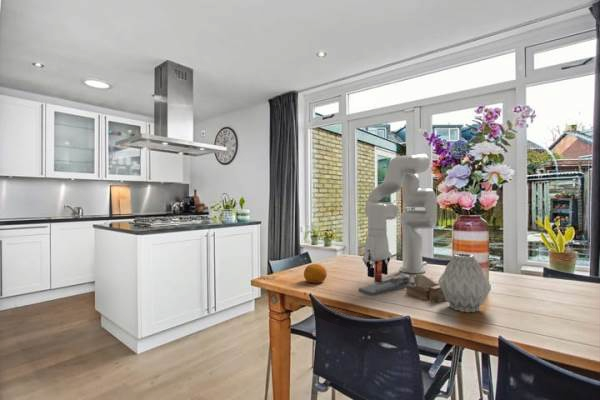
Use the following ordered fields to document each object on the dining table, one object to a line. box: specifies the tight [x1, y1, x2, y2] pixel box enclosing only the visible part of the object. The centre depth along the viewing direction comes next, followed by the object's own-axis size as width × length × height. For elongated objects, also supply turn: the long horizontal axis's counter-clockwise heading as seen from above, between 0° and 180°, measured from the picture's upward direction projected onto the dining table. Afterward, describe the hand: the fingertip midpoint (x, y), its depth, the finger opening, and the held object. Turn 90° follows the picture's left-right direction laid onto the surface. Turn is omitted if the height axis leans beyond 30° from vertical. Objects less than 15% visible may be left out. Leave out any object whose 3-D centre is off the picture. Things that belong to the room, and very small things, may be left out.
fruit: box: [303, 263, 328, 284], centre depth 145 cm, size 10×10×8 cm
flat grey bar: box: [358, 277, 415, 297], centre depth 134 cm, size 26×8×2 cm, turn 124°
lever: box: [373, 260, 411, 285], centre depth 135 cm, size 21×6×11 cm, turn 124°
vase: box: [437, 253, 492, 313], centre depth 109 cm, size 16×16×18 cm
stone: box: [413, 273, 437, 290], centre depth 125 cm, size 10×7×10 cm
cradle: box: [405, 281, 446, 303], centre depth 124 cm, size 13×12×5 cm
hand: (377, 275), depth 131 cm, fingers open, 7 cm apart
